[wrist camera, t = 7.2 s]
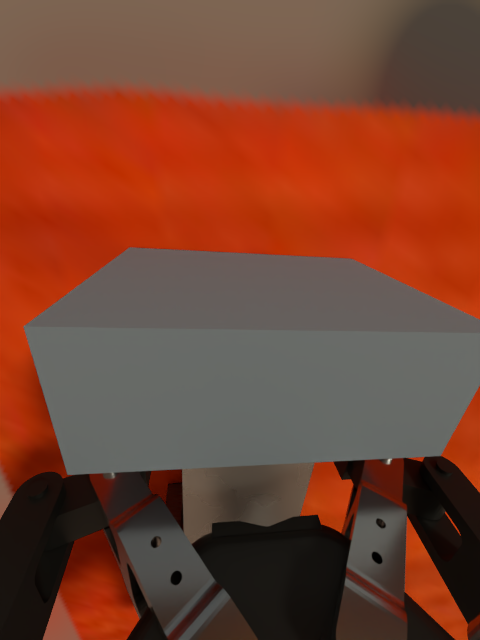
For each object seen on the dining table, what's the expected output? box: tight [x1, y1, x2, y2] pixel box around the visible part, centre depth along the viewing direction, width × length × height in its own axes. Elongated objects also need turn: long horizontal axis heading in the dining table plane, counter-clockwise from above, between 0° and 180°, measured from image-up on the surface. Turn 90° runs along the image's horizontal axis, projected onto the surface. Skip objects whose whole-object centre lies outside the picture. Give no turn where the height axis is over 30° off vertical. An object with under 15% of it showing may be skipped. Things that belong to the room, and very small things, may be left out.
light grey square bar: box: [182, 462, 314, 544], centre depth 13 cm, size 17×6×6 cm, turn 176°
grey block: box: [24, 248, 480, 475], centre depth 10 cm, size 4×10×7 cm, turn 86°
